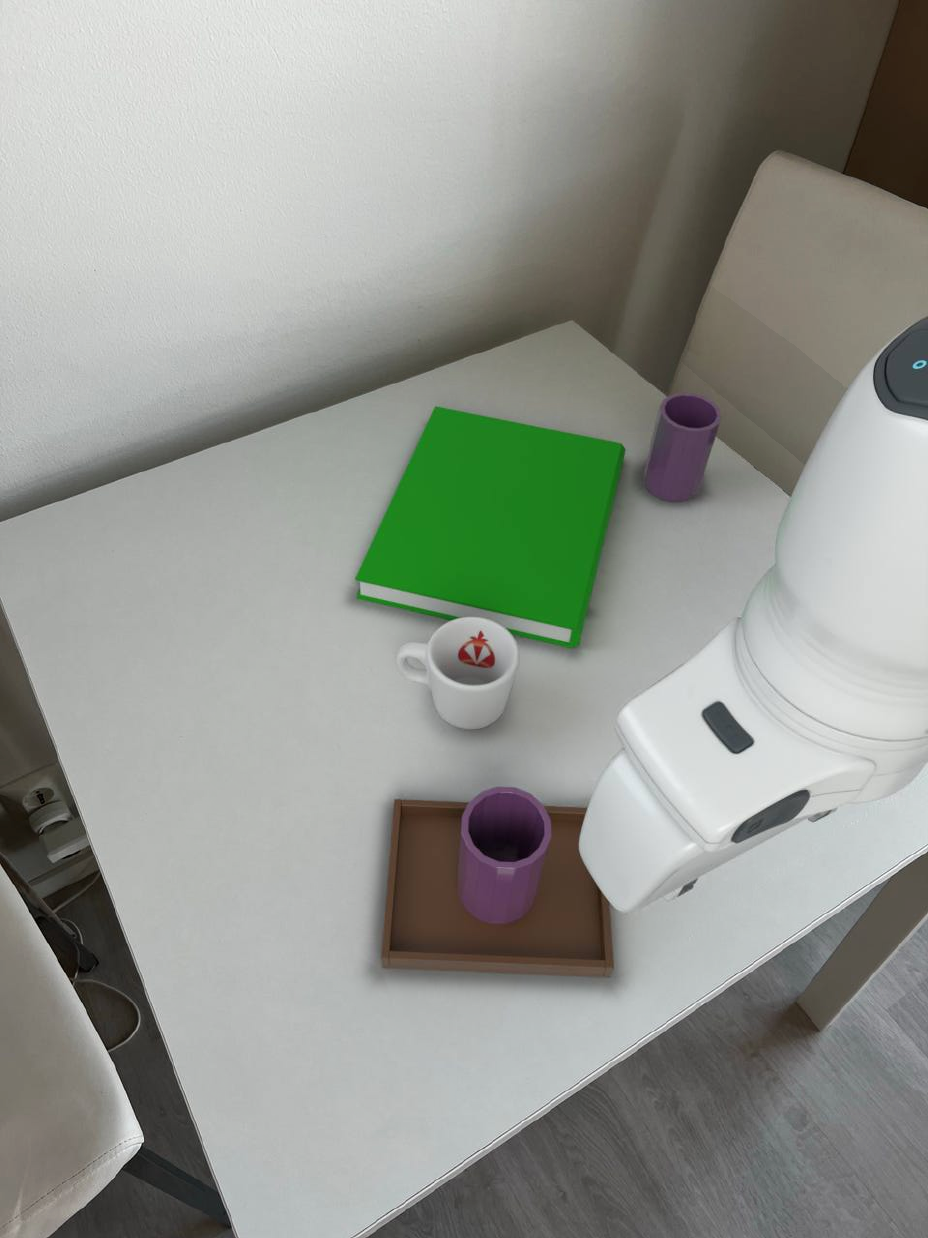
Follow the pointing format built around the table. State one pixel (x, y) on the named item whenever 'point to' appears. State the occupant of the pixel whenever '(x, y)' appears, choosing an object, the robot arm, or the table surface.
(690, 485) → the tumbler
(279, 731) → the table surface
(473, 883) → the plum tumbler
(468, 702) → the cup
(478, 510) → the book
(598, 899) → the walnut tray
